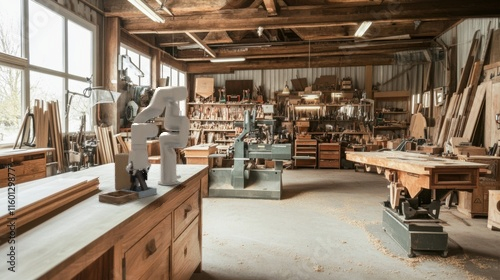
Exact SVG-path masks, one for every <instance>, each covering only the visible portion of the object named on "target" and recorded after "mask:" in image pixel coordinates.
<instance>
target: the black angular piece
mask: <svg viewBox="0 0 500 280" xmlns="http://www.w3.org/2000/svg"><path fill="white" fill-rule="evenodd" d="M138 173H139V174H138ZM135 175H136V183H132V184H131V187H130V190H129V191H135V192H141V191H145V190H149V189H148V187H149V186H148V184H147V182H146V181H147V180H145V179H144V176H143V170H142V169H140V170H137V171H136V173H135ZM138 181H139V186H140V188H141V191H136V188H137V184H138Z"/></svg>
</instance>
